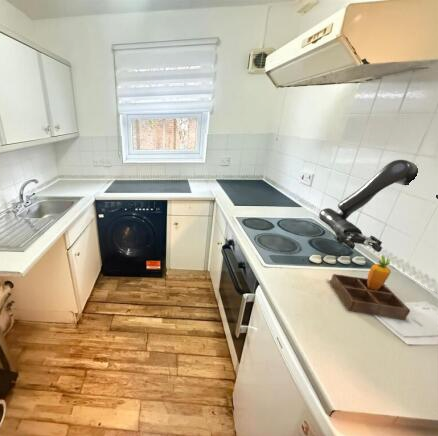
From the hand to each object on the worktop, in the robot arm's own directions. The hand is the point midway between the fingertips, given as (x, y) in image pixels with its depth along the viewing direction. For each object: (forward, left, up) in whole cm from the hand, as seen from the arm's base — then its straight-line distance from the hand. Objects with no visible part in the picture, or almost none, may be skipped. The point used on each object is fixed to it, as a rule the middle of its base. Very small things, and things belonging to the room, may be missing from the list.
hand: (366, 248), depth 92 cm
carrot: (0, +11, -13) cm, 17 cm away
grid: (+4, +15, -13) cm, 20 cm away
